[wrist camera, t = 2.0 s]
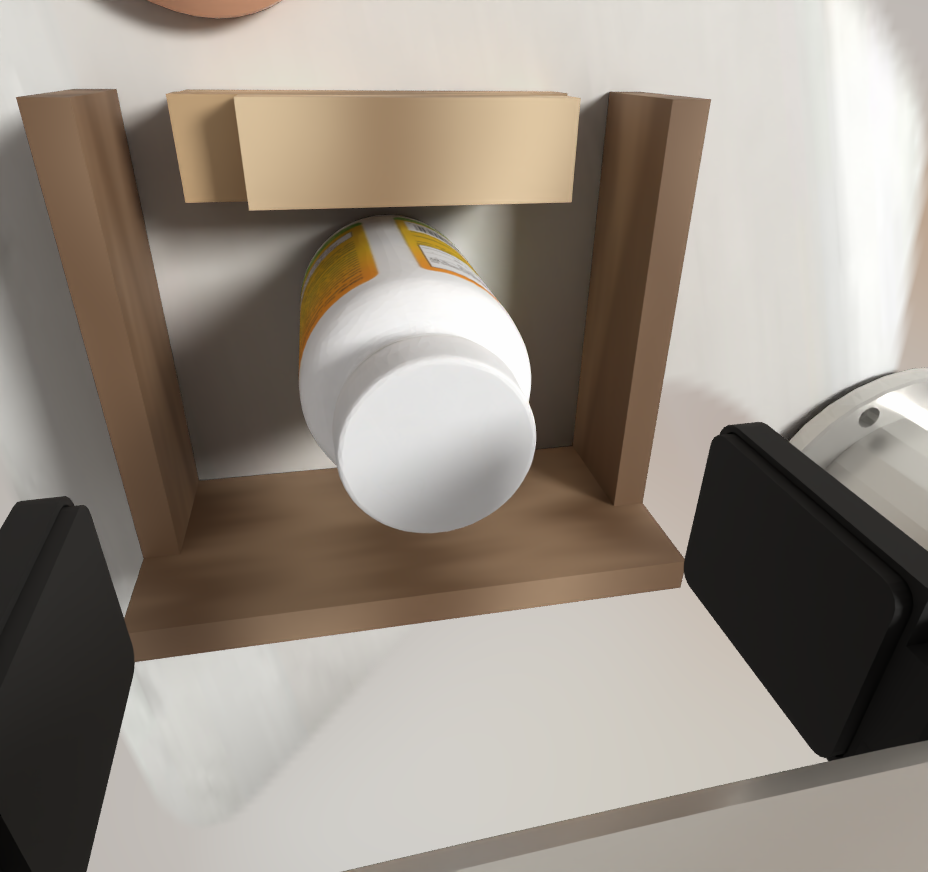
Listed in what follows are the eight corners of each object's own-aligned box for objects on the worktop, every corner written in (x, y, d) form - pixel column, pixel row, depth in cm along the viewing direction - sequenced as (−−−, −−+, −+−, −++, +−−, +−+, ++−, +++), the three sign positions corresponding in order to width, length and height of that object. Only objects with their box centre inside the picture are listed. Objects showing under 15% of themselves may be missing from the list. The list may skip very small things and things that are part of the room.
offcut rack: (641, 92, 20) (785, 107, 14) (594, 466, 26) (680, 587, 20) (74, 89, 17) (-50, 106, 11) (173, 508, 23) (128, 662, 17)
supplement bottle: (318, 389, 22) (324, 585, 14) (283, 223, 20) (266, 345, 11) (476, 364, 23) (572, 537, 15) (464, 201, 20) (572, 300, 12)
